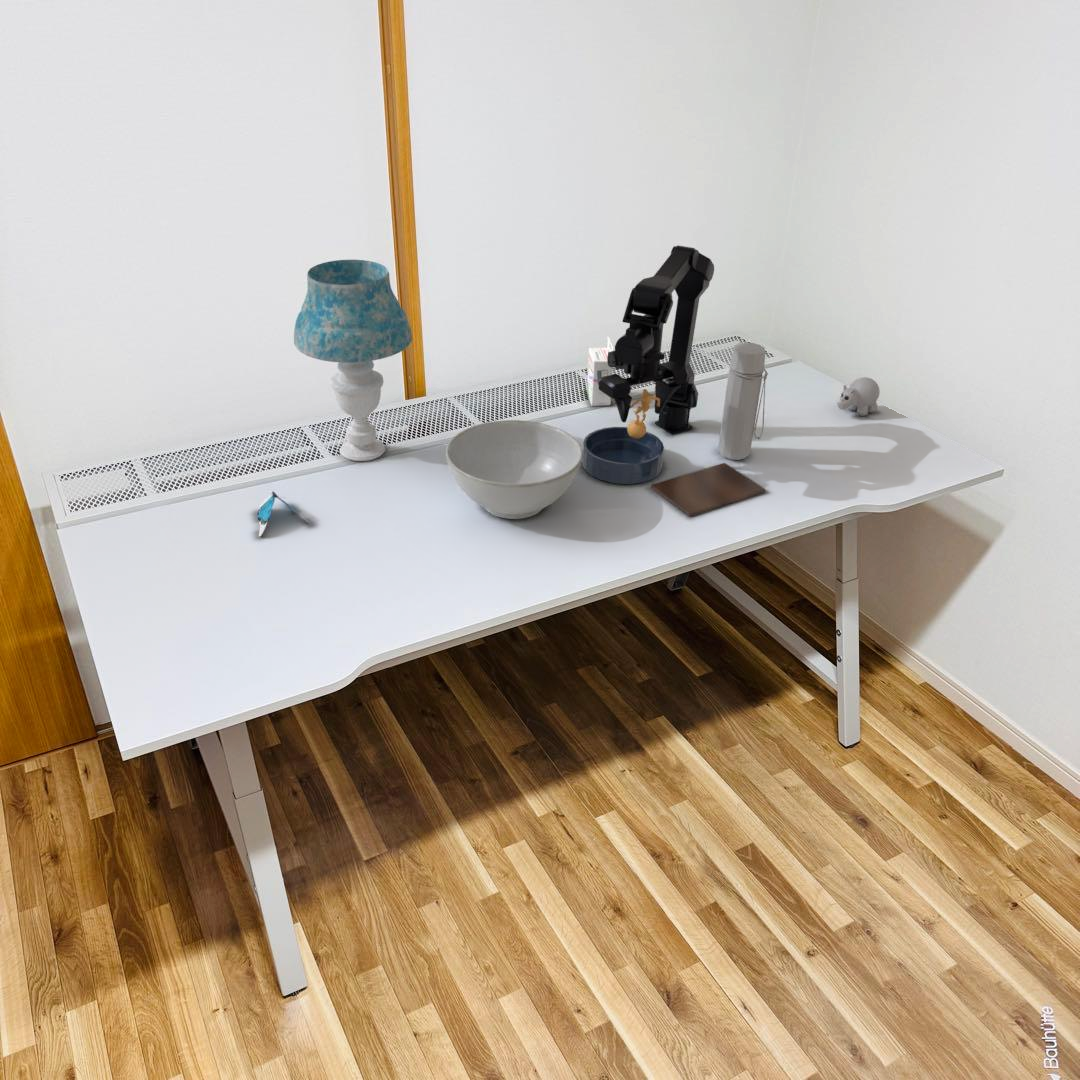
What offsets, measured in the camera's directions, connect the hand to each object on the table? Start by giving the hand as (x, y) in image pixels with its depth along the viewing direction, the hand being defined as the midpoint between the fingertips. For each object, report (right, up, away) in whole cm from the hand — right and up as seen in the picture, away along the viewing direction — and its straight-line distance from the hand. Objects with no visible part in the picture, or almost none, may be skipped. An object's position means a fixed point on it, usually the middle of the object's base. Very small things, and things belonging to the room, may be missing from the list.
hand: (640, 417), depth 205 cm
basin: (-3, -9, +8) cm, 13 cm away
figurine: (0, -5, +3) cm, 6 cm away
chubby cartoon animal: (+55, +5, +33) cm, 64 cm away
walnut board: (+14, -15, 0) cm, 21 cm away
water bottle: (+23, -7, +14) cm, 28 cm away
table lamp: (-60, -6, +11) cm, 61 cm away
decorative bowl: (-26, -18, -6) cm, 33 cm away
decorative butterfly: (-72, -22, -13) cm, 76 cm away
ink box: (-7, +9, +36) cm, 38 cm away
